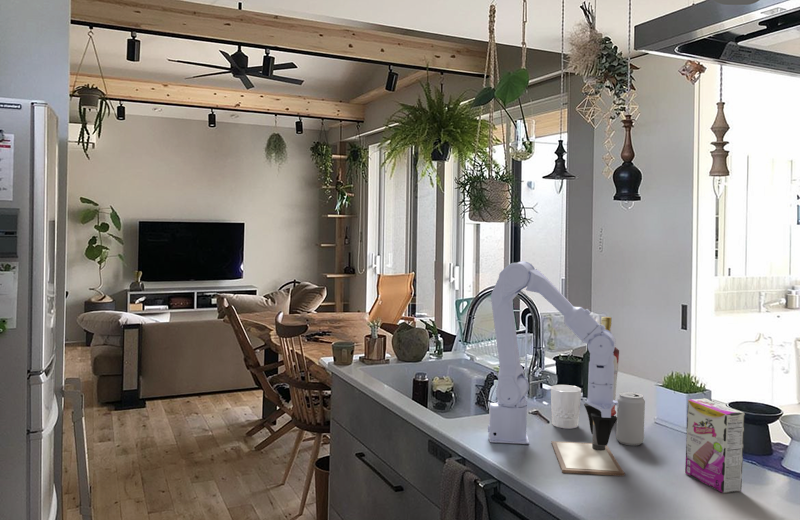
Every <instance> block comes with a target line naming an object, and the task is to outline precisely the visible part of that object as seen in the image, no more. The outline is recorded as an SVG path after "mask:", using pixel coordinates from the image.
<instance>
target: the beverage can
mask: <svg viewBox="0 0 800 520" xmlns="http://www.w3.org/2000/svg"><path fill="white" fill-rule="evenodd" d="M618 395H619V396H618V397H617V400H616V401H618V405H616V417H617V421H616V433H615V434H616V440H617V441H618V442H619V443H620V444H622V445H626V446H632V447H633V446H640V445H641V444H642V443H644V442H645V439H644V438H645V409H646V408H645V407H646V400H645V398H644V395H643V394H641V393H639V392H634V391H633V392H632V391H623V392H619V393H618Z"/></svg>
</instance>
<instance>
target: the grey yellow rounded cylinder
mask: <svg viewBox="0 0 800 520" xmlns="http://www.w3.org/2000/svg"><path fill="white" fill-rule="evenodd" d="M591 443H592V448H593V449H594V450H599V451H603V450H605V447H606V445H598V444H597V439H596V430H595V425H594V422H593V434H592V442H591Z"/></svg>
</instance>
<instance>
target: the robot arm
mask: <svg viewBox="0 0 800 520" xmlns="http://www.w3.org/2000/svg"><path fill="white" fill-rule="evenodd" d="M523 289H524V290H526V291H528V292H533V293H538V294H539V295H541V297H543V298H544V299H546V301H547V302H548V303H550V304H551V305H552V306H553V307H554V308H555V309H556V310H557V311H558V312H559V313H560V314H561V315H562V316H563V318H564V320H563V321H564V322H563V323H564V325H565V327H567V328H568V329H569V330H570V331H571V332H572V333H573V334H574V335H575V336H576V337H578V339H579V340H580V341H582V343H583V344H587V351H588V352H589V361H588V375H587V376H588V377H587V378H588V380H587V381H588V384H587V399H586V403H584V404H583V406H584V408H585V411H586V413H587V417H588V421H589V422H588V423H589V430H590V433H591V435H593V422H594V425H595V430H596V439H597V444H598V445H607V446H608V444H609V440H610V436H611V432H612V430H613V428H614V426H615V424H616V423H617V415H614V416H611V409H612V407H613V406H614V405H615V406H617V405H618V401H617V400H616V399H615V400H613V387H614V363H613V361H614V353H613V352H614V348H615V347H616V345H617V343H616V338H615V336H614V334H613V333H612V331H611V330H610V331H611V332H610V331H608V330H605V326H604V325H602V324H600V323H599V322H598V321H597V320H596V319H595V318H594V317H593V316H592V315H591V313H592V311H590V309H588V308H586V309H585V308H583V306H574V305H573V304H572V303H571V302H570V301H569V300H568V298H567V297H565V296H564V294H562V293H561V291H560V290H559V289H558V288H557V287H556V285H554V283H552V282H551V281H550V280H549V279H548V277H546V276H545V275H544V274H543V273H542V271H540V270H539V269H537V268H535V266H533V264H532V263H530V262H528V261H526V260H525V261H524V260H523V261H522V260H521V261H518V262H511V263H510V264H508V265H507V266H505V267H504V268H503V269H502V270H501V271H500V272H499V273H498V279H497V281H496V283H495V286H494V288H493V289H492V292H491V294H490V301H491V309H492V316H493V323H494V331H495V340H496V348H497V354H498V363H499V368H498V373H497V382H498V383H497V386H496V389H495V395H496V398H497V402H490V403H489V411H488V412H489V413H488V425H487V433H488V437H489V439H488V440H489V442H490V443H496V444H498V443H499V444H519V445H520V444H521V445H529V444H530V441H529V437H528V433H527V423H528V422H527V421H528V420H527V419H528V418H527V417H528V401H527V400H526V398H525V396H526V395H527V394H528V392H529V388H530V383H529V381H528V379H527V378H526V376H525V373H524V368H523V366H522V364H521V363H520V362H521V360H520V353H519V345H518V338H517V330H516V322H515V315H514V307H513V305H514V304H513V300H514V299H515V298H516V297H517V296H518V294H519V293H520V292H521V291H522V290H523Z"/></svg>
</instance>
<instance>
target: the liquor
mask: <svg viewBox="0 0 800 520" xmlns="http://www.w3.org/2000/svg"><path fill="white" fill-rule="evenodd" d="M600 325H601V326H602V325H604V326H605V330H608V331H610V332H611V333H612V331H611V328H612V317H611V316H601V324H600ZM613 353H614V361H613V363H614V387H613V400H616V398H617V397H616V396H617V395H616V394H617V393H616V392H617V381H618V372H619V361H620V360H619V358H620V350H619V349H618V348H617V347H616V346H615V348H614V352H613ZM616 415H617V410H616V405H614V406H613V407H612V409H611V416H616Z"/></svg>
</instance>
